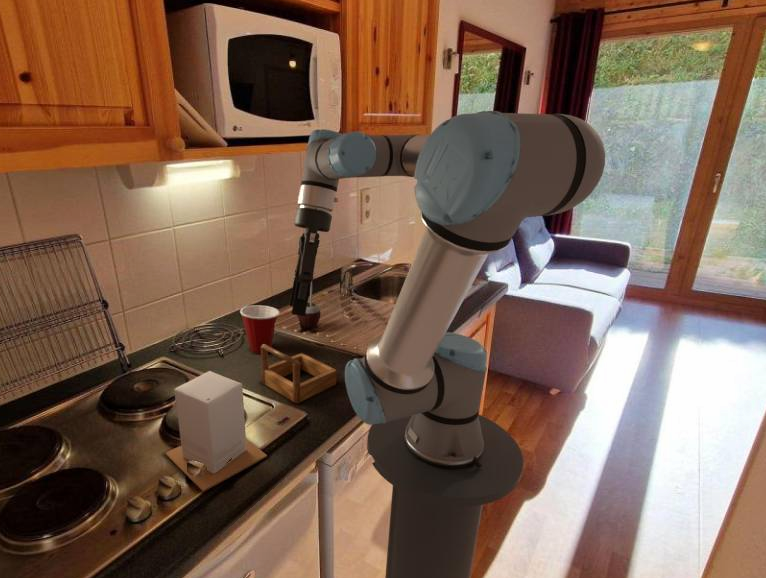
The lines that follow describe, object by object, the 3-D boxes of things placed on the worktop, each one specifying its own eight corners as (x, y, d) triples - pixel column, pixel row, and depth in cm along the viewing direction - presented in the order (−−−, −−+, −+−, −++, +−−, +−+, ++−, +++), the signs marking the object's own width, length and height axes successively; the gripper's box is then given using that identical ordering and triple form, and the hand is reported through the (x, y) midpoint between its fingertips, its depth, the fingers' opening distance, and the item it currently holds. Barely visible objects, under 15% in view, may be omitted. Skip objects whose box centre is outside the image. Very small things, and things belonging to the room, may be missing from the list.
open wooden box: (337, 384, 118) (337, 345, 114) (296, 404, 109) (295, 363, 105) (301, 366, 127) (300, 329, 123) (261, 383, 118) (259, 344, 114)
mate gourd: (305, 335, 145) (305, 288, 139) (292, 327, 151) (291, 281, 145) (325, 330, 149) (326, 284, 143) (311, 322, 155) (311, 277, 149)
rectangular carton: (248, 450, 93) (244, 383, 87) (214, 475, 86) (207, 404, 81) (216, 433, 98) (210, 369, 92) (181, 456, 91) (172, 388, 85)
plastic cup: (287, 352, 134) (286, 312, 130) (252, 361, 129) (250, 320, 124) (270, 338, 143) (268, 300, 138) (236, 346, 137) (233, 307, 133)
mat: (267, 456, 92) (267, 455, 92) (203, 492, 83) (203, 490, 83) (226, 425, 101) (226, 424, 101) (165, 454, 92) (165, 452, 92)
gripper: (340, 208, 87) (319, 322, 89) (326, 217, 111) (309, 306, 114) (300, 200, 86) (279, 315, 89) (294, 211, 110) (278, 301, 113)
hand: (296, 310), depth 101 cm, fingers open, 13 cm apart
